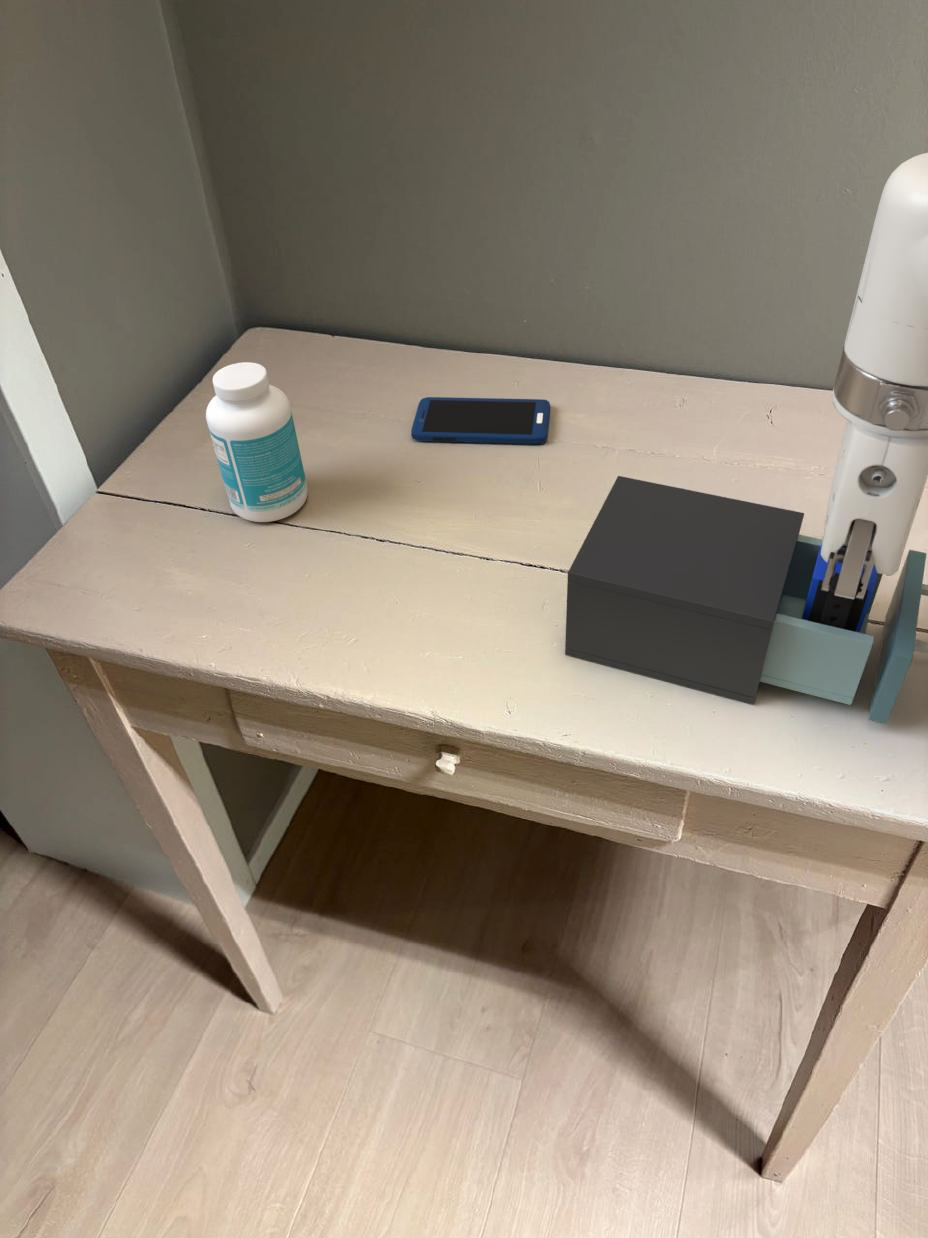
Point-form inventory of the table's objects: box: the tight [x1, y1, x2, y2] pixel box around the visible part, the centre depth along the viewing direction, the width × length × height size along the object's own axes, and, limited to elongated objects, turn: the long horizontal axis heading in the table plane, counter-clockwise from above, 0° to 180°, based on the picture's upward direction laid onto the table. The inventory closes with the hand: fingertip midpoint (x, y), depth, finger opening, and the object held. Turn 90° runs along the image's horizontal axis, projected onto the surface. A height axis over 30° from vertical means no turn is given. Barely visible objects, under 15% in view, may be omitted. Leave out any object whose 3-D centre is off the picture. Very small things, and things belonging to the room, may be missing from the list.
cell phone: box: [410, 396, 552, 445], centre depth 99 cm, size 7×14×1 cm, turn 83°
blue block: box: [802, 544, 877, 632], centre depth 68 cm, size 4×4×4 cm
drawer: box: [760, 534, 928, 725], centre depth 70 cm, size 18×11×7 cm, turn 67°
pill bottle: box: [205, 361, 309, 523], centre depth 87 cm, size 8×7×14 cm
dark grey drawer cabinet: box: [564, 475, 805, 705], centre depth 74 cm, size 15×13×9 cm
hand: (835, 605), depth 69 cm, fingers closed on blue block, 4 cm apart
